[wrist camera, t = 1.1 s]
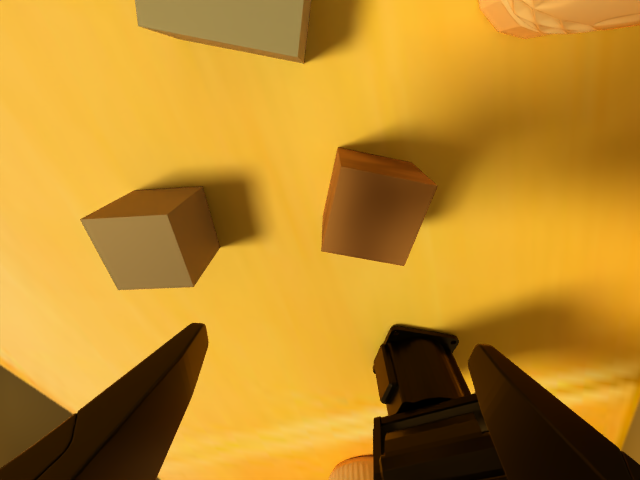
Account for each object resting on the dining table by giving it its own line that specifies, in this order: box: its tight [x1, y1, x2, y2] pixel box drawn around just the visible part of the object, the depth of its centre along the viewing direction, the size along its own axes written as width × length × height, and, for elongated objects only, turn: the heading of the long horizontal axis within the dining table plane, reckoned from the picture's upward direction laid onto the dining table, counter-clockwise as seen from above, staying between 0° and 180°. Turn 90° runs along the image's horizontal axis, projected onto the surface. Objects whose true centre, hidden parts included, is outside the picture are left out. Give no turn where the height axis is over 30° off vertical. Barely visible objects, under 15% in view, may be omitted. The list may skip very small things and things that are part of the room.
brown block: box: [80, 186, 220, 290], centre depth 19 cm, size 5×5×5 cm
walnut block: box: [321, 147, 437, 266], centre depth 17 cm, size 5×5×5 cm
